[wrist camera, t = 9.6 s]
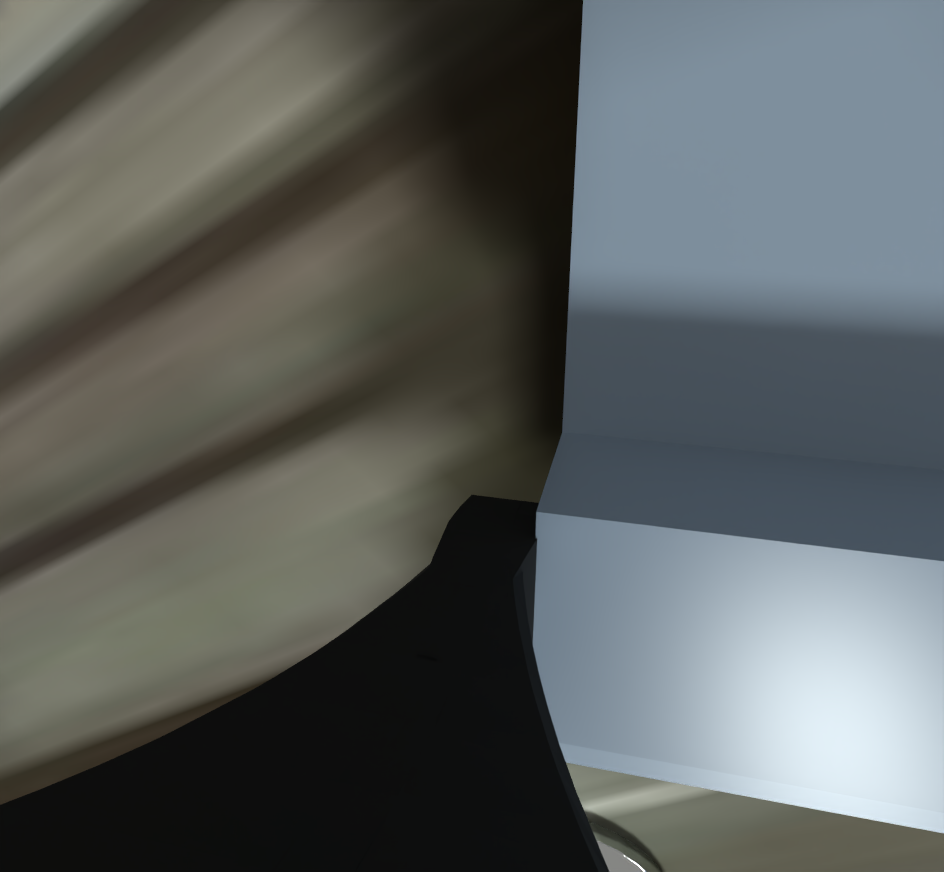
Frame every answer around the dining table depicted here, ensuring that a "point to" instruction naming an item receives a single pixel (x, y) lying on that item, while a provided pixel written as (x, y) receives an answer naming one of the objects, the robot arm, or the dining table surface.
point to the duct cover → (754, 406)
